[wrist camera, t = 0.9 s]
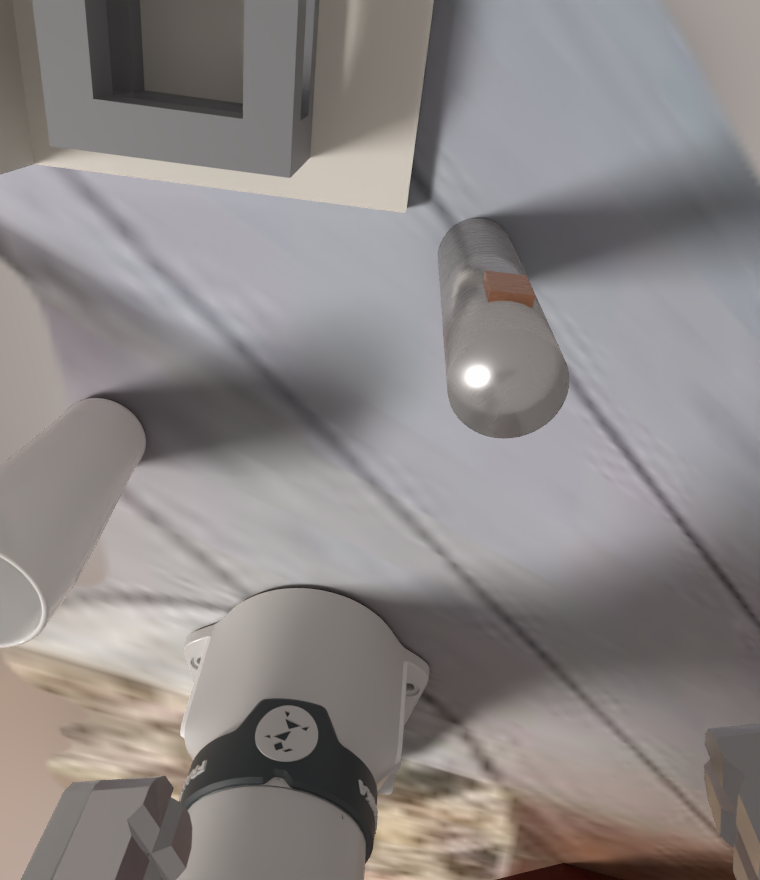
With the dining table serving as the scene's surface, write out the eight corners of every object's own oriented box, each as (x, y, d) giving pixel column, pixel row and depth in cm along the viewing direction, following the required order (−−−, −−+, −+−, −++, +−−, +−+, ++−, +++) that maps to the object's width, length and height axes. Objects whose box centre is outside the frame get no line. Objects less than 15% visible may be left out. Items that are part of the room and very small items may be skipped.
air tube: (504, 297, 37) (552, 445, 24) (432, 287, 37) (438, 430, 24) (521, 217, 35) (586, 329, 21) (445, 207, 35) (460, 312, 21)
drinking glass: (47, 376, 41) (-123, 527, 28) (157, 390, 41) (38, 547, 29) (60, 468, 45) (-86, 641, 32) (162, 481, 45) (58, 658, 32)
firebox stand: (406, 208, 35) (401, 261, 27) (22, 157, 35) (-109, 194, 26) (451, -139, 28) (465, -219, 20) (-30, -205, 28) (-231, -316, 19)
